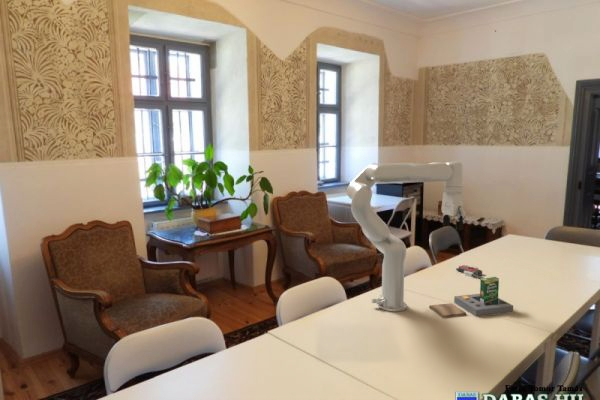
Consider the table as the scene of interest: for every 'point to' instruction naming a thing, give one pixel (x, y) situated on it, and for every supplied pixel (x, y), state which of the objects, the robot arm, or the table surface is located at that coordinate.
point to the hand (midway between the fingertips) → (452, 227)
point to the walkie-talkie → (470, 271)
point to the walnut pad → (447, 310)
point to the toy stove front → (482, 305)
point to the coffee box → (489, 291)
